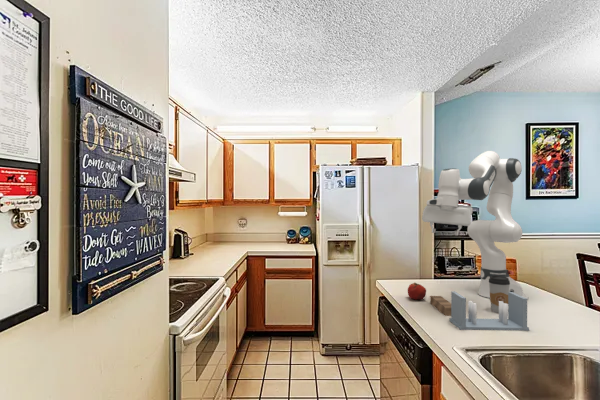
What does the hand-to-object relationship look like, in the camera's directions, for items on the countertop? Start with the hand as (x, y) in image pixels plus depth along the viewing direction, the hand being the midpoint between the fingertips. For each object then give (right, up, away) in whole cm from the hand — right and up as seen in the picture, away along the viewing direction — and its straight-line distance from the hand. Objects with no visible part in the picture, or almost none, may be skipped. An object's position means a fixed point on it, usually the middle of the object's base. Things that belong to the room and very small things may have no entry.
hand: (444, 233), depth 156 cm
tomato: (-6, -35, +19) cm, 40 cm away
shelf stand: (+10, -34, -18) cm, 40 cm away
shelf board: (0, -35, +3) cm, 35 cm away
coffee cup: (+24, -35, 0) cm, 42 cm away
